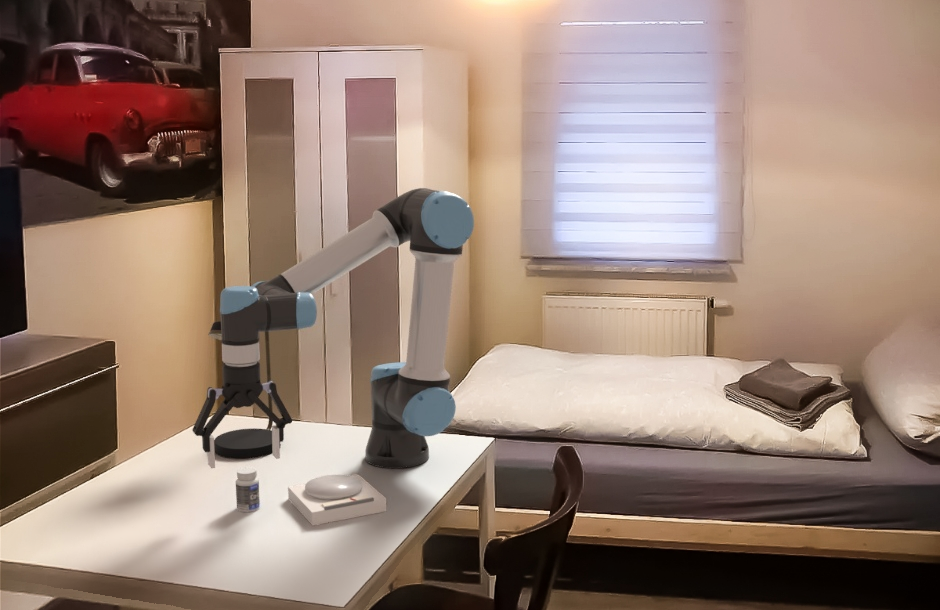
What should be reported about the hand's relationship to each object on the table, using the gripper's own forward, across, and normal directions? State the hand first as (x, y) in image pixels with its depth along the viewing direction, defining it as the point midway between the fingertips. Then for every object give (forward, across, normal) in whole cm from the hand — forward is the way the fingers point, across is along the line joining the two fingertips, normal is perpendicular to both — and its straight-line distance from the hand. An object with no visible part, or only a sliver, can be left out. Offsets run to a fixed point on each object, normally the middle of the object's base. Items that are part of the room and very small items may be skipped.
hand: (244, 461), depth 216 cm
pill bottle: (+11, -1, 0) cm, 11 cm away
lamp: (+10, -12, -39) cm, 42 cm away
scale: (+10, -18, +7) cm, 21 cm away
